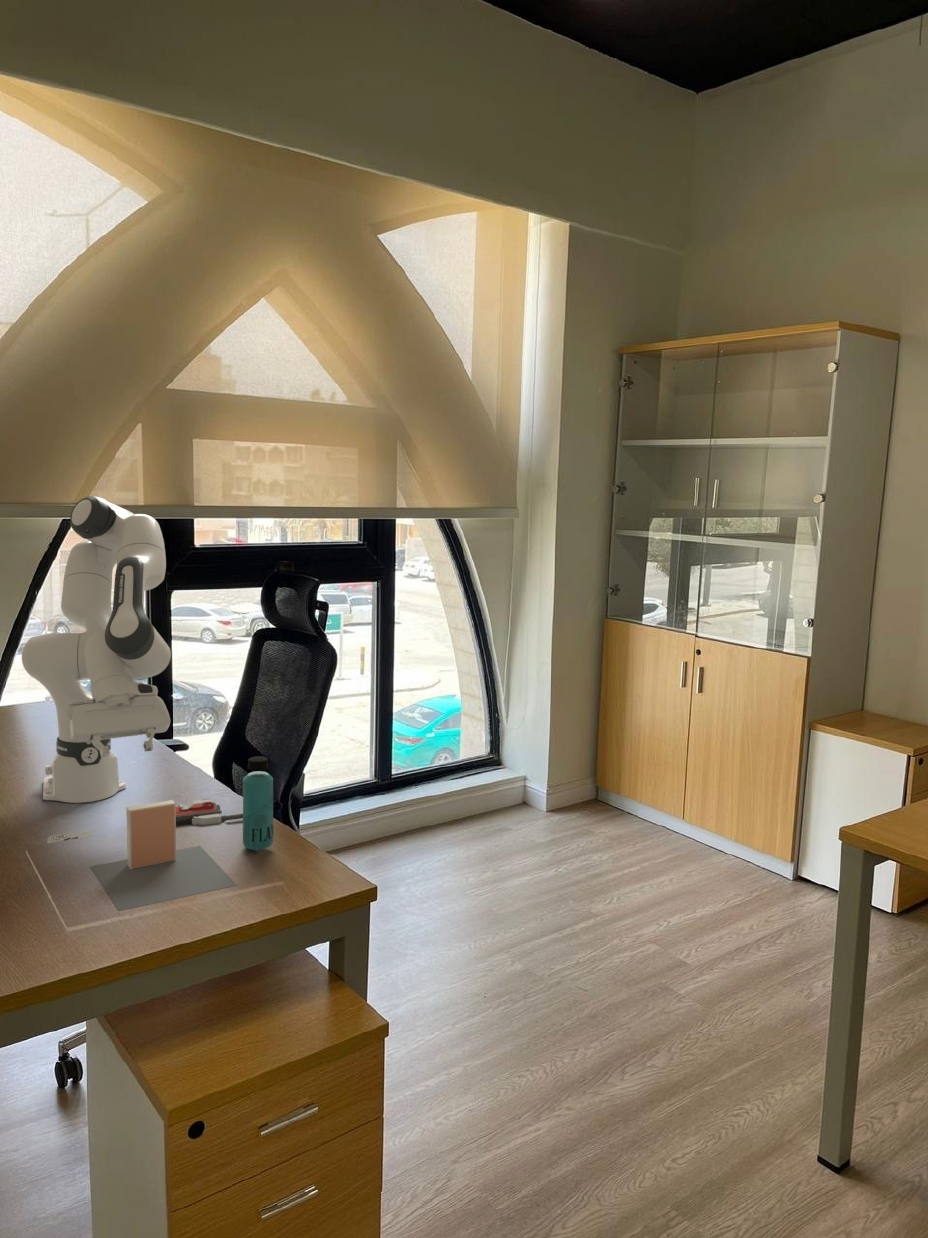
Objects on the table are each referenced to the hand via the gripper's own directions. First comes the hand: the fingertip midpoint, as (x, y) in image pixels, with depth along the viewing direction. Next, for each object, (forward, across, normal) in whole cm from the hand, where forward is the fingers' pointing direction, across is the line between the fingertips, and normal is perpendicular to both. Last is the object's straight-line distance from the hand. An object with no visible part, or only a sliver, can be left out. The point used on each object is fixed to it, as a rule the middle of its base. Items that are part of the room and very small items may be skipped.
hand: (127, 752), depth 204 cm
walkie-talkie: (+12, +18, +15) cm, 26 cm away
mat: (+30, 0, -4) cm, 31 cm away
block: (+25, 0, +1) cm, 25 cm away
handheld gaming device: (+14, -12, +14) cm, 23 cm away
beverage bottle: (+28, +21, -1) cm, 35 cm away
